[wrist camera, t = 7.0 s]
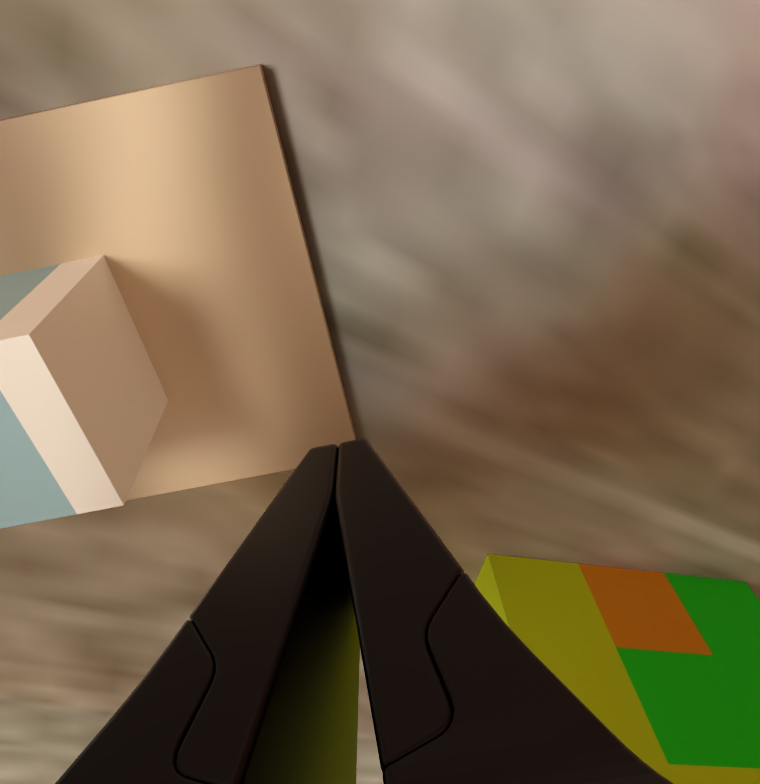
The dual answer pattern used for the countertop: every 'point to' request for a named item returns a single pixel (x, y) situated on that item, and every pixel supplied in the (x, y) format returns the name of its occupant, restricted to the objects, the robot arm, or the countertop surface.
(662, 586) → the puzzle toy
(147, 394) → the pillar
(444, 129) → the countertop surface
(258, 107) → the mat
